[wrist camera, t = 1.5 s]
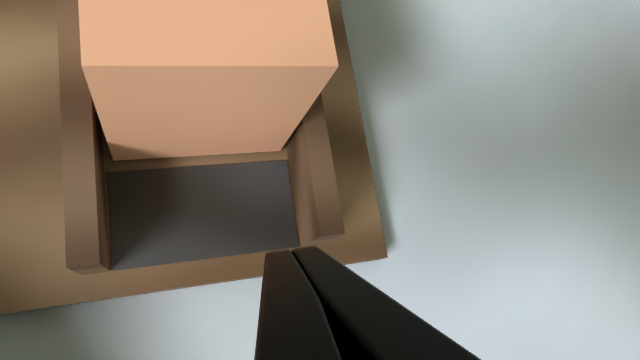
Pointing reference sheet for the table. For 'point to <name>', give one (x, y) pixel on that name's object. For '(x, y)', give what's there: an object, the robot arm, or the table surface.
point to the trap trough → (159, 183)
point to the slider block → (203, 72)
